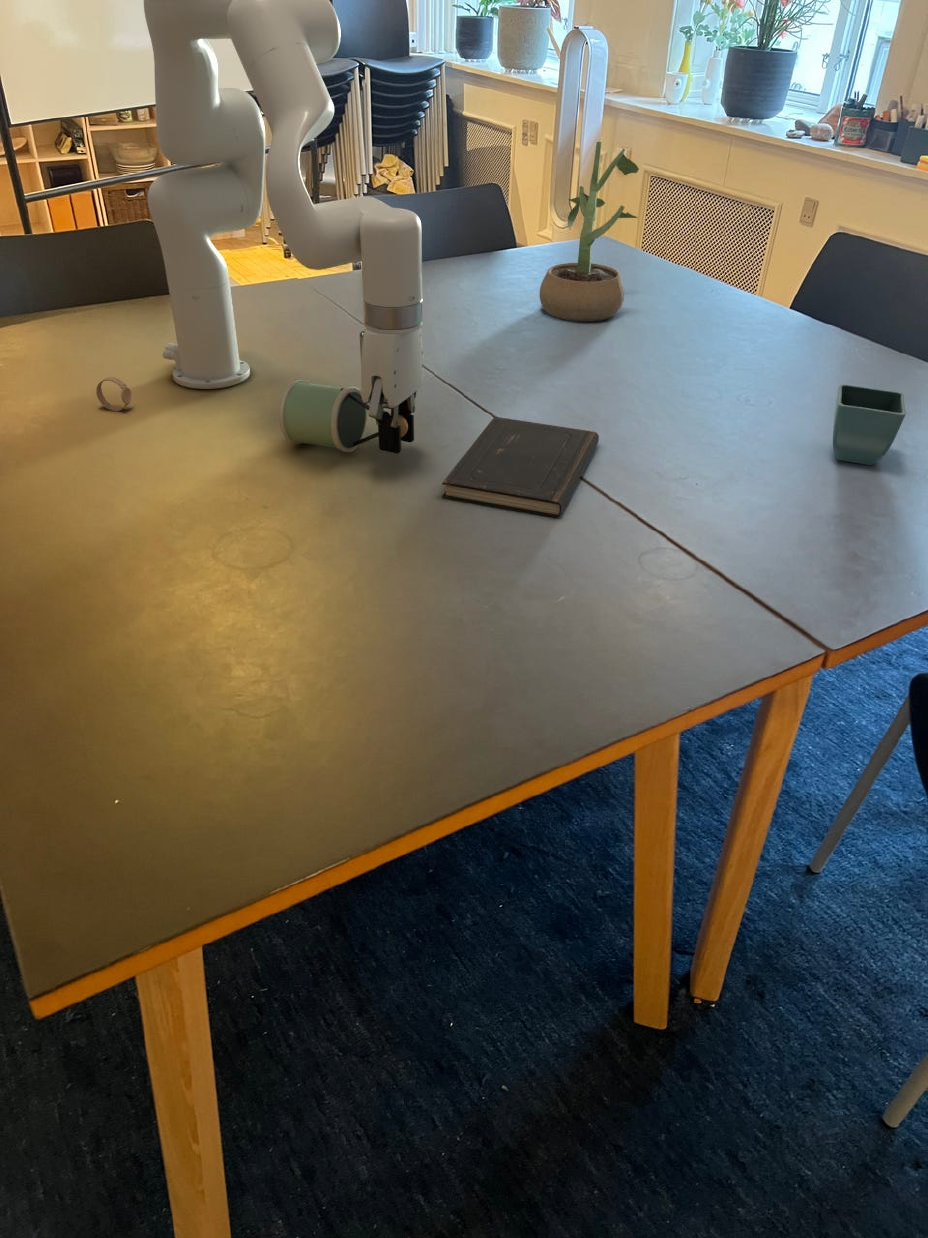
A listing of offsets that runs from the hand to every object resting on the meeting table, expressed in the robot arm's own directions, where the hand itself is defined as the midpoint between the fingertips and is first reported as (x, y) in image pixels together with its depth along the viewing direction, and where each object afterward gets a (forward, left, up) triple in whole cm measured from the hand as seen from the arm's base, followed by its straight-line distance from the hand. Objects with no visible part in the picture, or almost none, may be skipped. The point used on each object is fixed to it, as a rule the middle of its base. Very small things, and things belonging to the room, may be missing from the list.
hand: (396, 444), depth 132 cm
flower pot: (+59, +30, -3) cm, 66 cm away
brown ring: (-48, -2, -3) cm, 48 cm away
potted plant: (+2, +81, -3) cm, 81 cm away
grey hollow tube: (-14, +20, -3) cm, 24 cm away
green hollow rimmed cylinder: (-7, 0, -2) cm, 7 cm away
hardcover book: (+17, +5, -3) cm, 18 cm away
